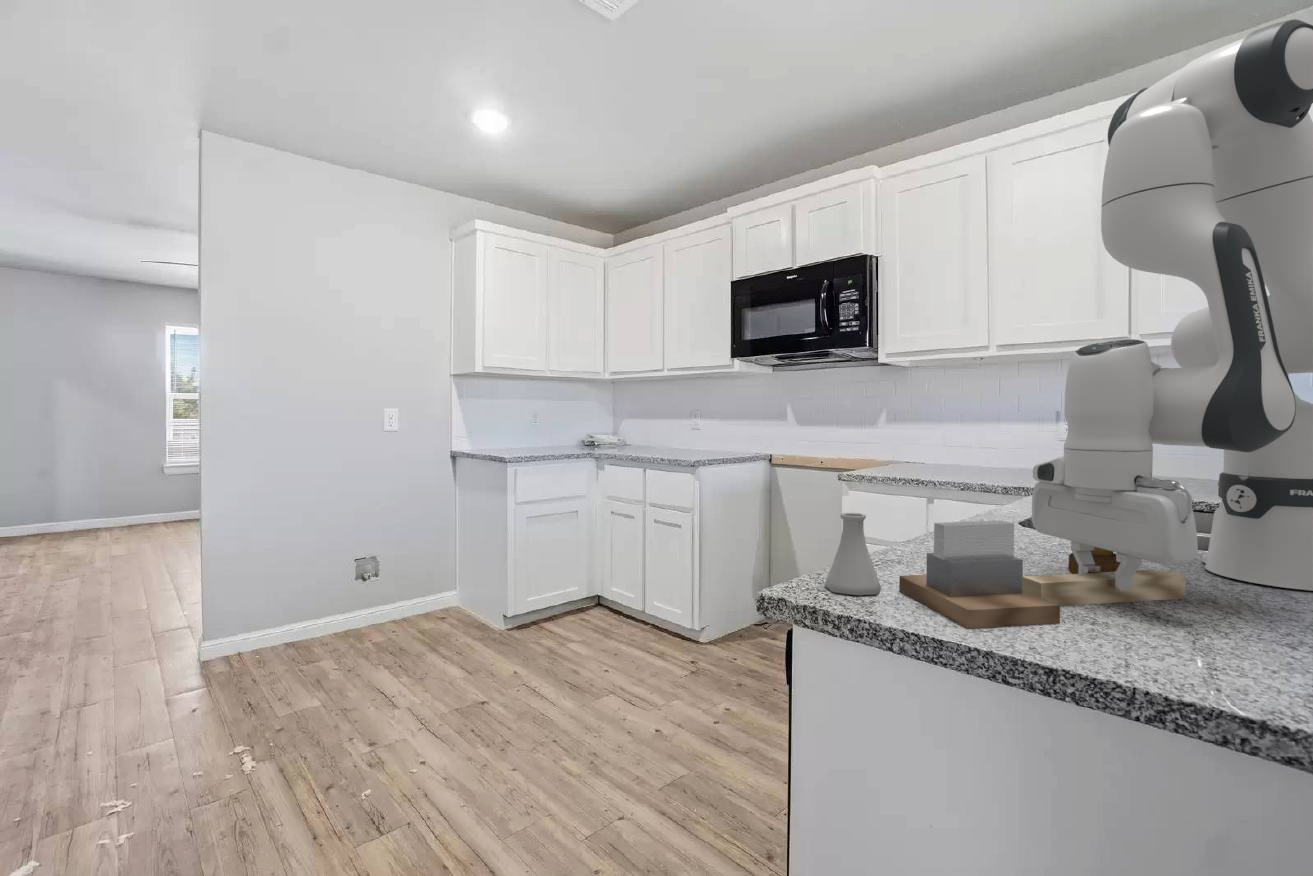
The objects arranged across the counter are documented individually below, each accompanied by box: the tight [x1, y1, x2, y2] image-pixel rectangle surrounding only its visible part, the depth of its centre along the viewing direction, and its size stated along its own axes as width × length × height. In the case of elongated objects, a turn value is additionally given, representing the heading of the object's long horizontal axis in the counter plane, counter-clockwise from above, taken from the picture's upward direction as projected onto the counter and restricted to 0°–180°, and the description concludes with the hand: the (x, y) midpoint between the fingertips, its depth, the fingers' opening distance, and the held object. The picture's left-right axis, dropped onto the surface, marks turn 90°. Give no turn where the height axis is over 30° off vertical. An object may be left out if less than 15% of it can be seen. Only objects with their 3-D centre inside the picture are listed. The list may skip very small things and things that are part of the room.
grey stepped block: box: [926, 520, 1024, 597], centre depth 73 cm, size 9×5×8 cm, turn 98°
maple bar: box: [1022, 569, 1187, 607], centre depth 76 cm, size 20×3×3 cm, turn 98°
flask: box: [824, 512, 882, 596], centre depth 81 cm, size 7×7×10 cm
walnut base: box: [898, 574, 1061, 629], centre depth 74 cm, size 11×14×2 cm
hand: (1104, 583), depth 76 cm, fingers closed on maple bar, 3 cm apart
